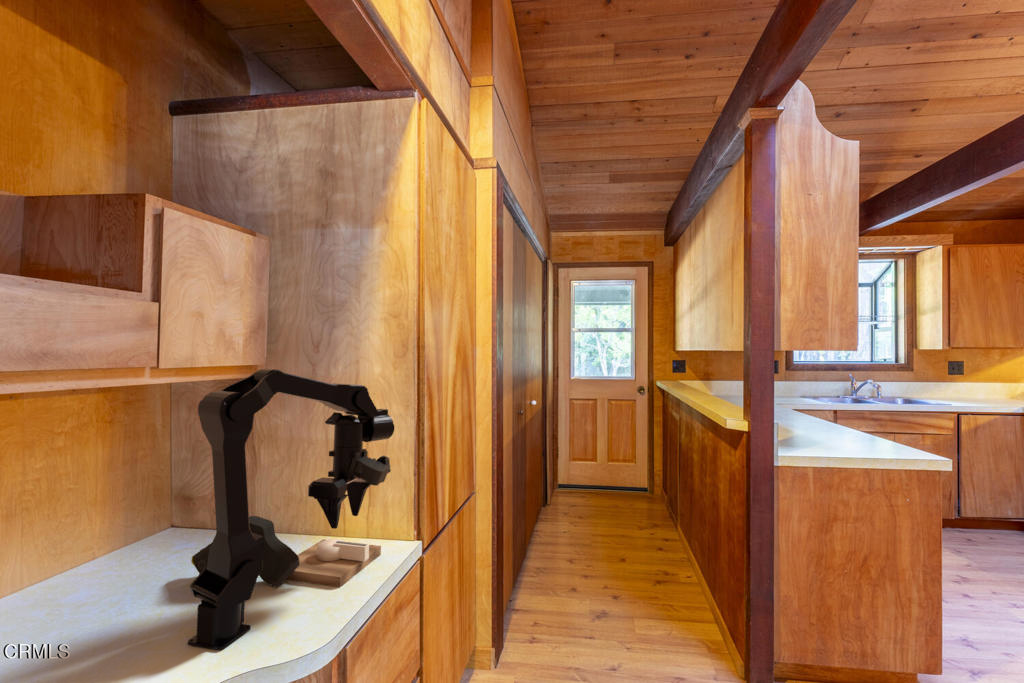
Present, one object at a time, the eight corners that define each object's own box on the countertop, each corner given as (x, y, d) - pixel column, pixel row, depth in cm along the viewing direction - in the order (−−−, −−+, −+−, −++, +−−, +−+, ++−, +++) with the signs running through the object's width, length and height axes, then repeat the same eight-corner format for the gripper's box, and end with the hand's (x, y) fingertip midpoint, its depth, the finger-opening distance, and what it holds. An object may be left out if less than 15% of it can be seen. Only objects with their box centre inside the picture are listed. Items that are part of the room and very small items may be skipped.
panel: (340, 587, 98) (341, 576, 98) (274, 578, 101) (274, 568, 101) (381, 554, 115) (381, 545, 115) (323, 547, 118) (323, 538, 118)
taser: (294, 575, 96) (254, 510, 98) (225, 622, 98) (186, 558, 99) (305, 566, 101) (267, 504, 102) (239, 611, 102) (202, 549, 103)
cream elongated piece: (310, 559, 106) (311, 544, 106) (326, 549, 112) (327, 534, 112) (359, 565, 103) (359, 549, 103) (373, 554, 109) (373, 539, 109)
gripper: (362, 455, 91) (359, 541, 91) (403, 440, 109) (400, 511, 109) (308, 452, 93) (304, 536, 93) (356, 437, 112) (354, 507, 111)
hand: (345, 521), depth 101 cm, fingers open, 8 cm apart
